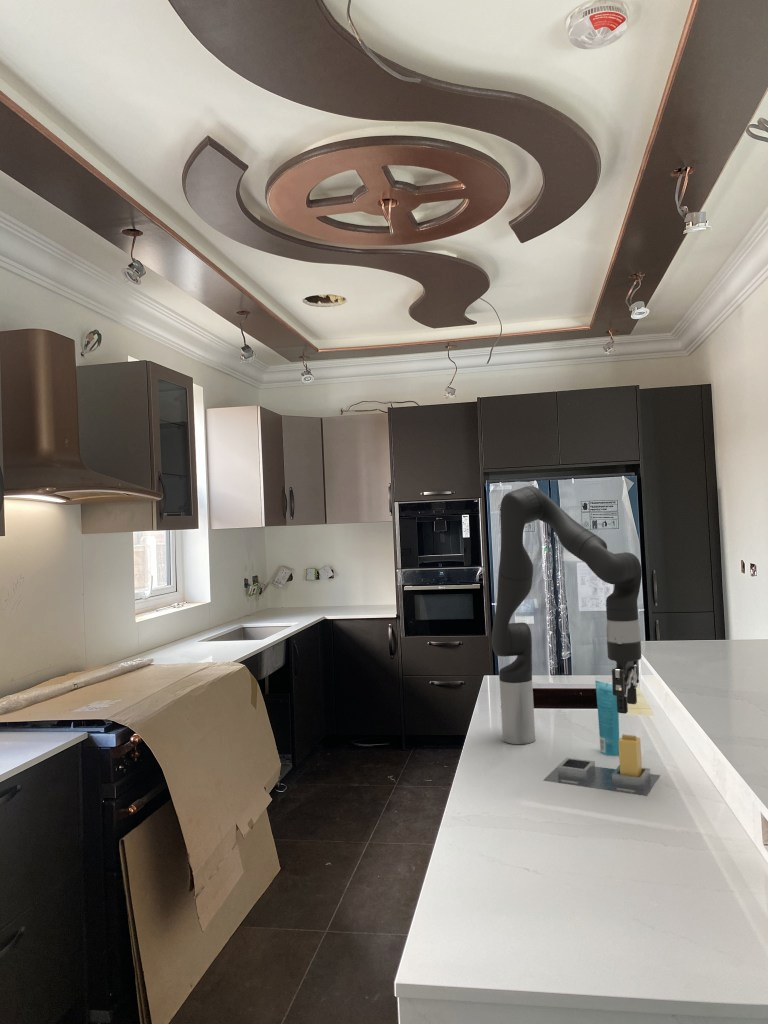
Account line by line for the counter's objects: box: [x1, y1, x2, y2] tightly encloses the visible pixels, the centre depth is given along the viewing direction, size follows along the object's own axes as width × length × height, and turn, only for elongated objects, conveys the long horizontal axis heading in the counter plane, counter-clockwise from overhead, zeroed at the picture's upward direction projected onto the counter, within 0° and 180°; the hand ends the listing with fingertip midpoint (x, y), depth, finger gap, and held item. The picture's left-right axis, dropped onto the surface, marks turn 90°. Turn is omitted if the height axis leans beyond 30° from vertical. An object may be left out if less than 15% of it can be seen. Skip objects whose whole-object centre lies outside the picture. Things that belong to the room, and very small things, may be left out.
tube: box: [594, 680, 620, 757], centre depth 196 cm, size 7×5×19 cm, turn 39°
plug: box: [618, 734, 643, 777], centre depth 174 cm, size 4×4×11 cm
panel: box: [542, 757, 661, 797], centre depth 178 cm, size 14×24×4 cm, turn 58°
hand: (627, 708), depth 174 cm, fingers open, 8 cm apart
